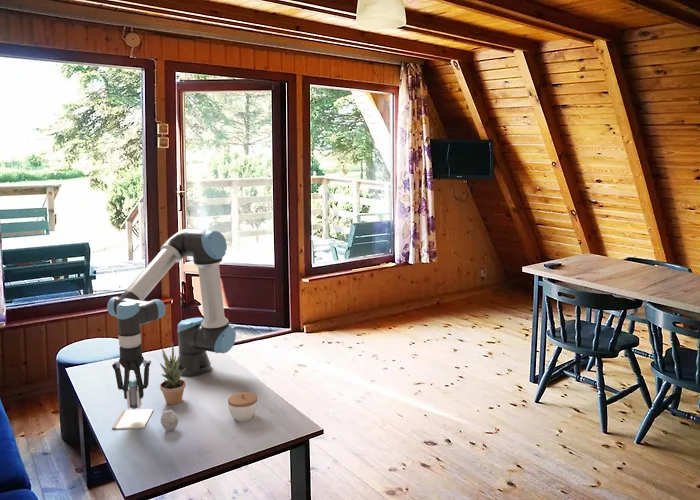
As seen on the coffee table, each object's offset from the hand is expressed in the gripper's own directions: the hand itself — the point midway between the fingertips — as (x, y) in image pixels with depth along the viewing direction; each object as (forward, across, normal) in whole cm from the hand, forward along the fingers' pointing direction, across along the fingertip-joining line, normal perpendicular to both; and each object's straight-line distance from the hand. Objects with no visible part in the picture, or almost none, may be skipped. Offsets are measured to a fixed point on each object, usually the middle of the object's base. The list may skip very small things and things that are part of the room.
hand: (134, 406), depth 215 cm
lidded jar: (+5, -39, +2) cm, 40 cm away
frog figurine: (+6, -14, +9) cm, 18 cm away
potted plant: (+5, -11, -15) cm, 20 cm away
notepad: (+5, +1, 0) cm, 5 cm away
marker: (0, 0, 0) cm, 0 cm away
